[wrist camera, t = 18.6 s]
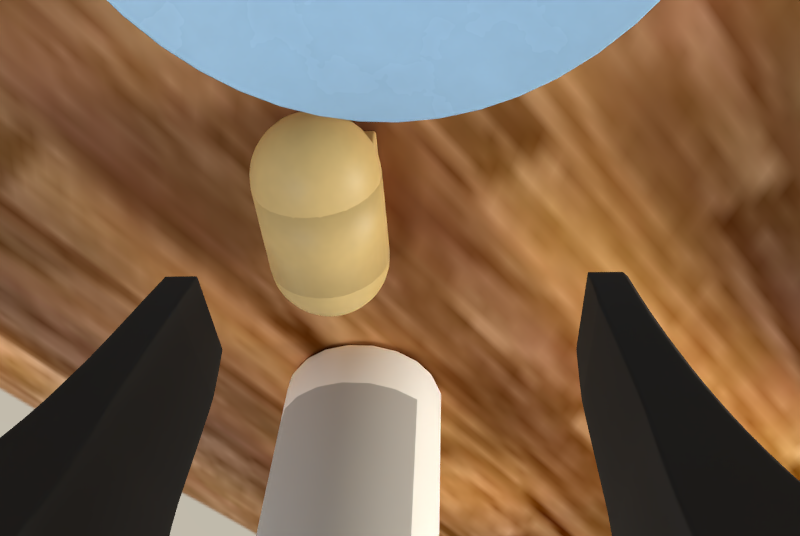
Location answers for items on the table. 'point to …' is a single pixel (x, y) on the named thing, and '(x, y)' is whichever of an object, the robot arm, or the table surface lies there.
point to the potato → (321, 212)
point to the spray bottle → (356, 448)
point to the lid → (384, 49)
